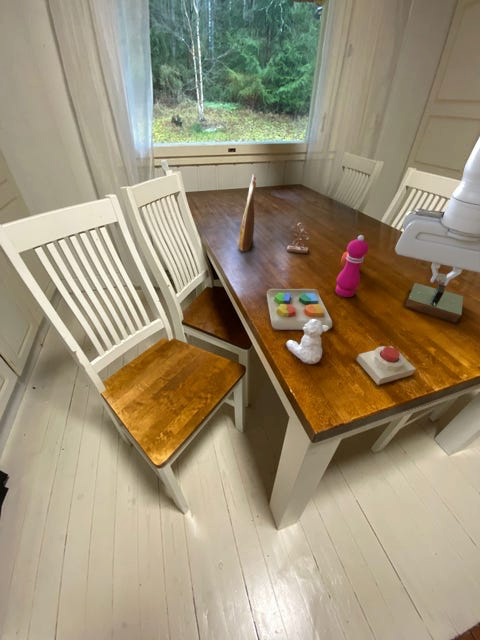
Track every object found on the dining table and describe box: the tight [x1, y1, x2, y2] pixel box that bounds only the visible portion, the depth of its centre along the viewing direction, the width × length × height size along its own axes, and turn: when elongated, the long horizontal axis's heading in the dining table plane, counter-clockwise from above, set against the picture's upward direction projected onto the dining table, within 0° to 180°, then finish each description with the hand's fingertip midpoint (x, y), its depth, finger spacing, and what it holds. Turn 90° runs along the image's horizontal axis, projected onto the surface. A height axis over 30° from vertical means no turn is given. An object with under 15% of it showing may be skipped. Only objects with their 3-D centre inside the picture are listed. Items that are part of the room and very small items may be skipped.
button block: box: [356, 345, 417, 386], centre depth 66 cm, size 10×8×4 cm
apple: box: [340, 250, 365, 269], centre depth 104 cm, size 8×8×8 cm
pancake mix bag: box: [238, 172, 257, 253], centre depth 114 cm, size 7×19×28 cm, turn 170°
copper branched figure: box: [286, 222, 310, 254], centre depth 115 cm, size 9×4×12 cm, turn 77°
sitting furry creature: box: [285, 319, 329, 365], centre depth 66 cm, size 10×9×12 cm
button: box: [381, 346, 401, 363], centre depth 64 cm, size 4×4×2 cm
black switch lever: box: [433, 284, 446, 302], centre depth 85 cm, size 6×2×4 cm, turn 145°
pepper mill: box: [335, 234, 370, 298], centre depth 87 cm, size 7×7×20 cm
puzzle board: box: [266, 288, 333, 331], centre depth 83 cm, size 18×19×4 cm
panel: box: [404, 282, 464, 323], centre depth 87 cm, size 14×12×3 cm
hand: (438, 283), depth 57 cm, fingers closed
